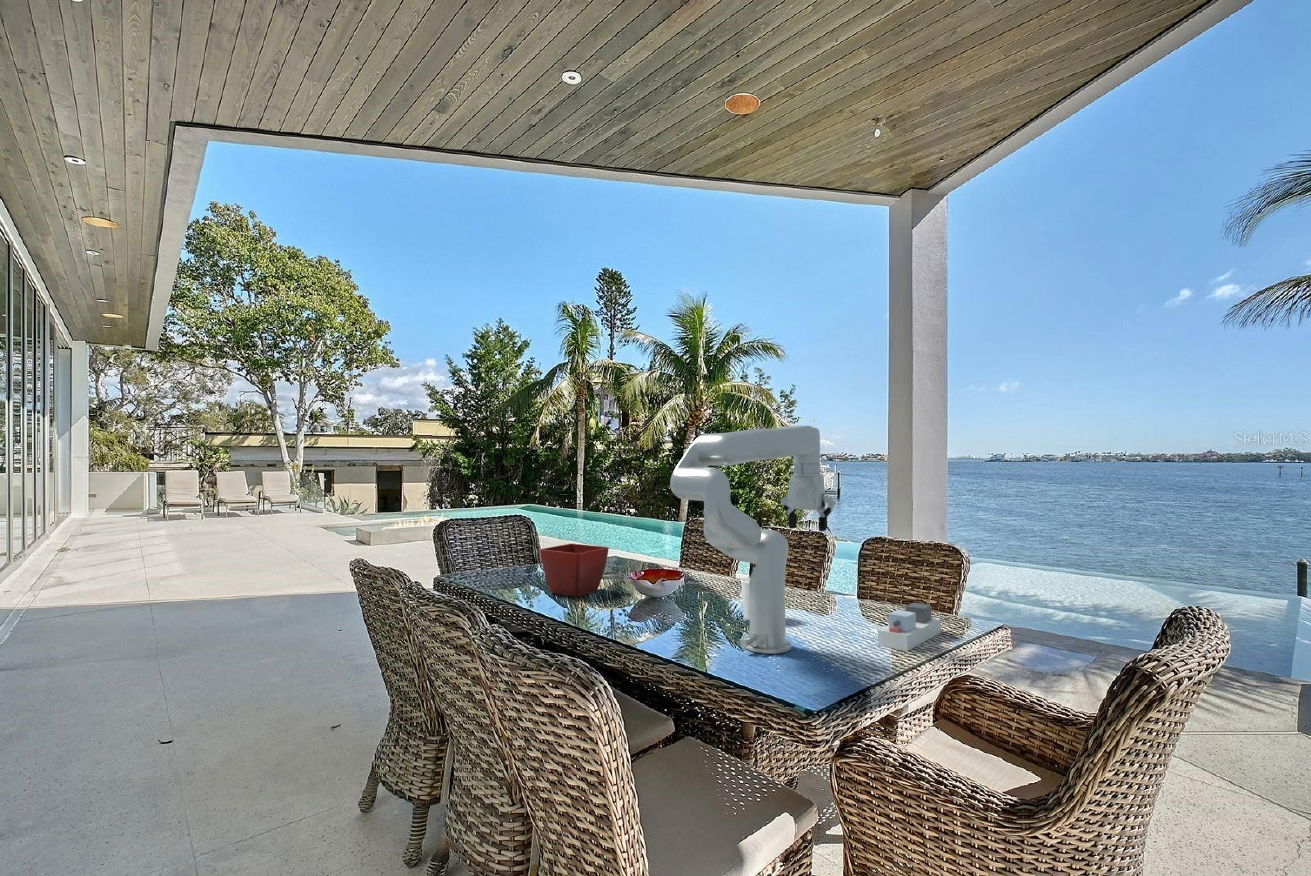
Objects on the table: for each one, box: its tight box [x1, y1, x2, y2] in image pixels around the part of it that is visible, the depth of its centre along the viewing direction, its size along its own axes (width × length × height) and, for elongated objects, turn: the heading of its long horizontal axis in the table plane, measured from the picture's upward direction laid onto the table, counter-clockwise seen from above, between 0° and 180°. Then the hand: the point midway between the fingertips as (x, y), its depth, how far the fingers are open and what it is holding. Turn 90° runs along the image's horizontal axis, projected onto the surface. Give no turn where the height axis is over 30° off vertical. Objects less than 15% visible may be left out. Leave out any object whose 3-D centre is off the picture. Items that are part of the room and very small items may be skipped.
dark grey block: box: [905, 602, 933, 623], centre depth 189 cm, size 8×5×8 cm, turn 137°
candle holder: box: [740, 577, 750, 622], centre depth 208 cm, size 10×10×12 cm
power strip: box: [877, 616, 942, 652], centre depth 184 cm, size 24×8×5 cm, turn 137°
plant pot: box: [539, 543, 609, 598], centre depth 248 cm, size 19×19×17 cm
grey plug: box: [888, 609, 916, 632], centre depth 179 cm, size 8×5×8 cm, turn 137°
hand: (807, 529), depth 189 cm, fingers open, 9 cm apart
